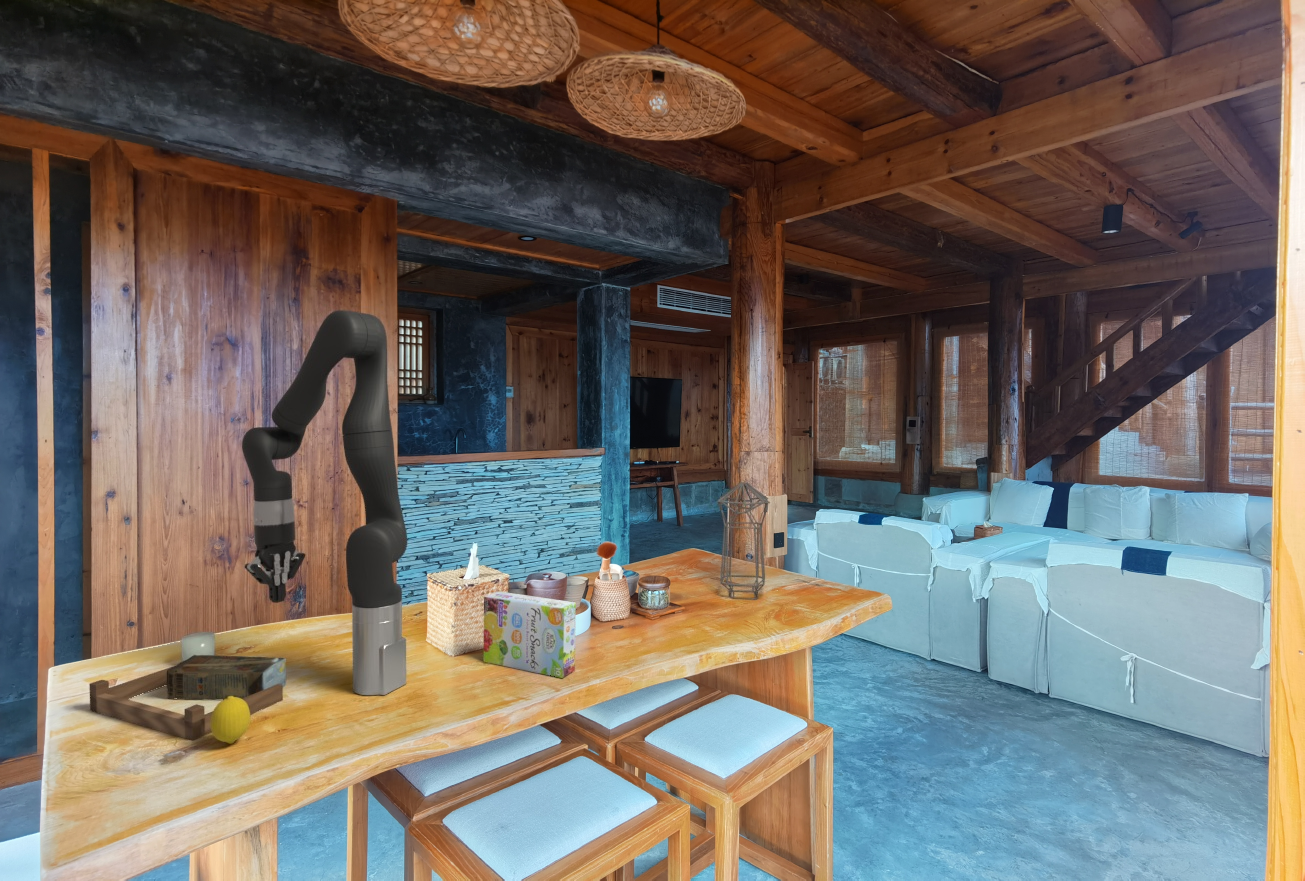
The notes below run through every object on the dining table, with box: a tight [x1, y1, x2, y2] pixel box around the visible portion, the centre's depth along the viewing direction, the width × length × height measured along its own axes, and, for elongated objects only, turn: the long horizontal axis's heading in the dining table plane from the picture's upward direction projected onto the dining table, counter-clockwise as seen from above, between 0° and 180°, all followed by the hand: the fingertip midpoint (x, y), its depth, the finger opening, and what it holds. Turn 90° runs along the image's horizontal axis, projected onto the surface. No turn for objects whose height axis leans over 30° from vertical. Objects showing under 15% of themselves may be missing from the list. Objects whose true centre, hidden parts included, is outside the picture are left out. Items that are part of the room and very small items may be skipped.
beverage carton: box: [166, 654, 287, 701], centre depth 129 cm, size 8×19×7 cm, turn 89°
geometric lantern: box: [717, 481, 771, 601], centre depth 201 cm, size 16×16×35 cm
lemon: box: [211, 696, 251, 745], centre depth 109 cm, size 6×6×8 cm
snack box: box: [482, 590, 577, 679], centre depth 143 cm, size 21×6×15 cm, turn 65°
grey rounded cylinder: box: [180, 631, 216, 662], centre depth 143 cm, size 6×6×6 cm
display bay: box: [88, 665, 284, 741], centre depth 123 cm, size 28×17×5 cm, turn 68°
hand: (278, 601), depth 139 cm, fingers closed
